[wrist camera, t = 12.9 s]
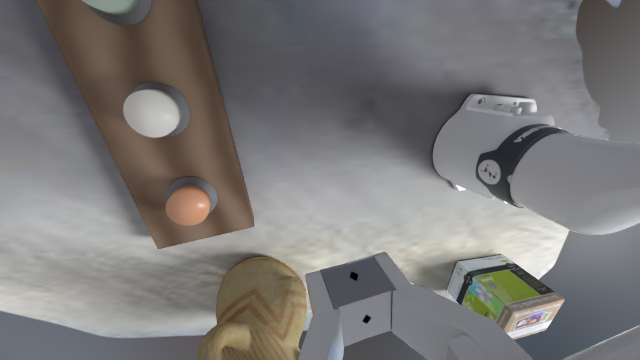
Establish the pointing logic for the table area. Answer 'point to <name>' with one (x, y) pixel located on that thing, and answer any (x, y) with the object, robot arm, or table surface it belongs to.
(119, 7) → the button sage
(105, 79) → the button panel
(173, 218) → the button terracotta
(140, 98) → the button cream
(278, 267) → the ceramic vessel
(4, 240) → the table surface
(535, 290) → the tea box
